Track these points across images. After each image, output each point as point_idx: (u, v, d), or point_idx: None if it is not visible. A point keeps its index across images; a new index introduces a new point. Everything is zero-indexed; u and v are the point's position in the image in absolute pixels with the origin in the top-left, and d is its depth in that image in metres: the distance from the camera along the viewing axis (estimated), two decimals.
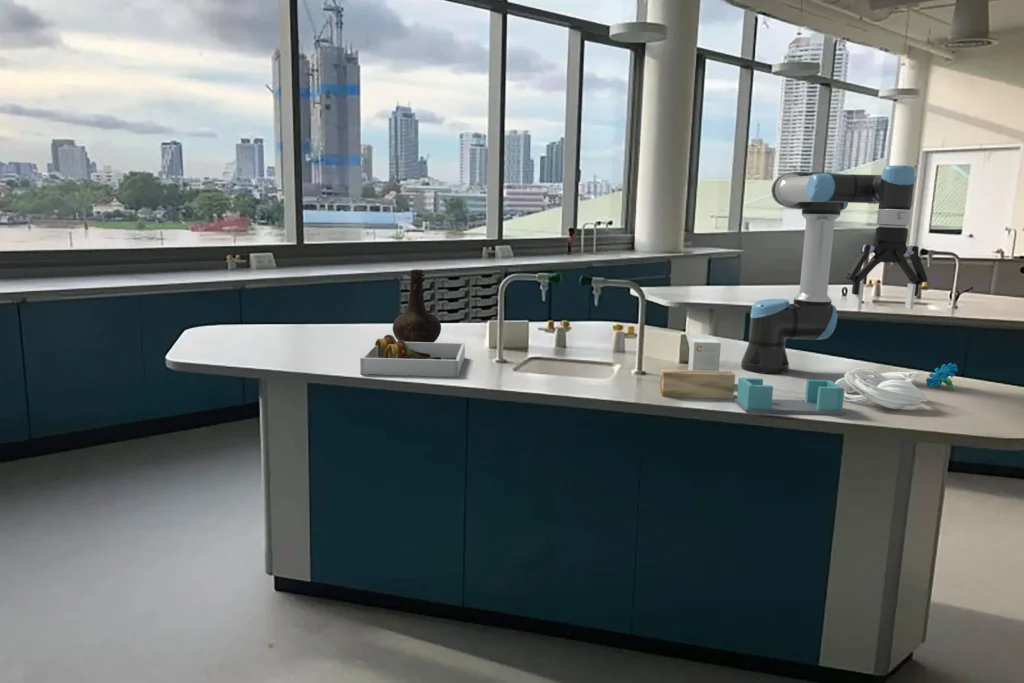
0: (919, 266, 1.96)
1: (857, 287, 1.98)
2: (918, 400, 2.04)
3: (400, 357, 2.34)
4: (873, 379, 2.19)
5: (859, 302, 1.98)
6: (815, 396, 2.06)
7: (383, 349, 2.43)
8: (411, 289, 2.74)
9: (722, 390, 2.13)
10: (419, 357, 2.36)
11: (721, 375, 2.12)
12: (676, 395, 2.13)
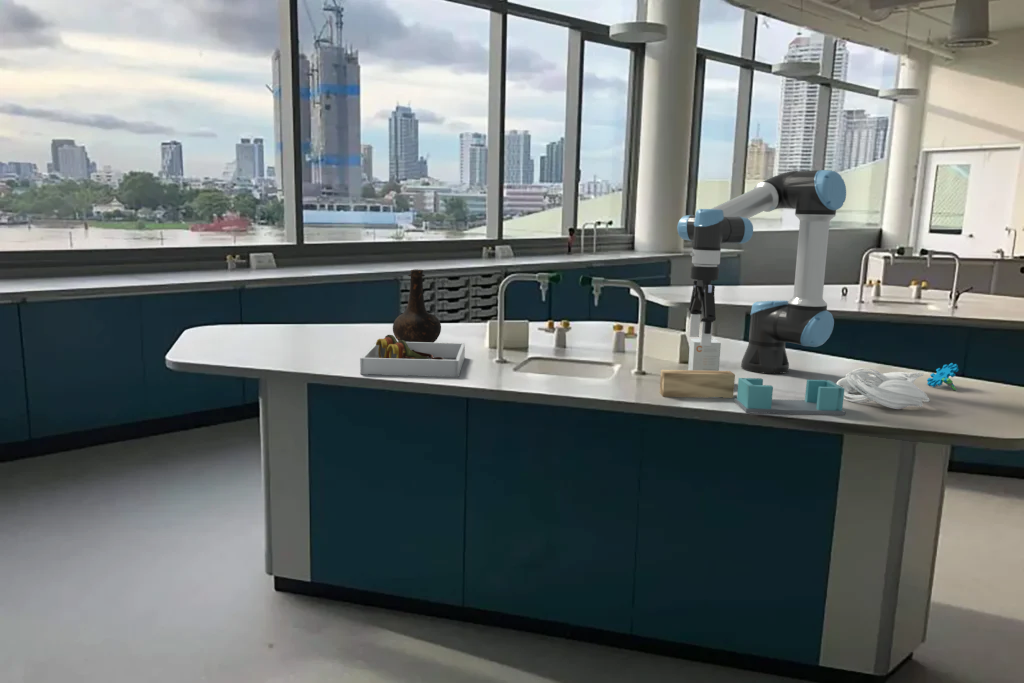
0: (705, 304, 2.03)
1: None
2: (919, 400, 2.04)
3: (401, 357, 2.34)
4: (875, 379, 2.19)
5: (689, 331, 2.19)
6: (815, 396, 2.06)
7: (384, 349, 2.43)
8: (411, 289, 2.74)
9: (722, 390, 2.13)
10: (420, 357, 2.36)
11: (721, 375, 2.12)
12: (676, 395, 2.13)
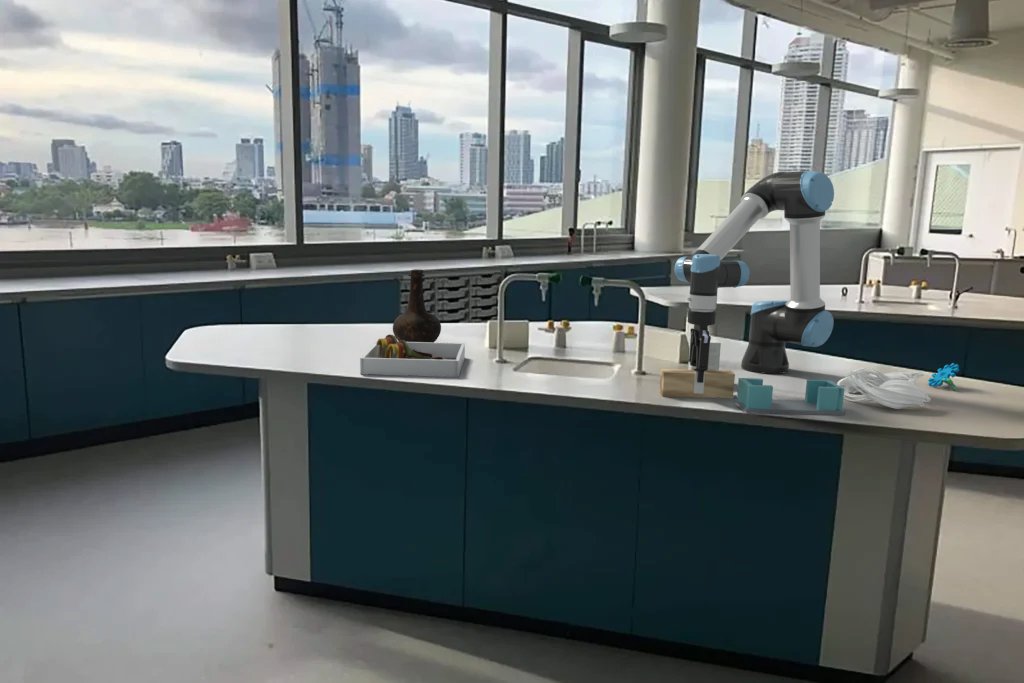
0: (699, 354, 2.08)
1: None
2: (920, 400, 2.04)
3: (401, 357, 2.34)
4: (876, 379, 2.19)
5: None
6: (815, 396, 2.06)
7: (384, 349, 2.43)
8: (411, 289, 2.74)
9: (722, 389, 2.13)
10: (420, 357, 2.36)
11: (721, 374, 2.12)
12: (676, 394, 2.13)
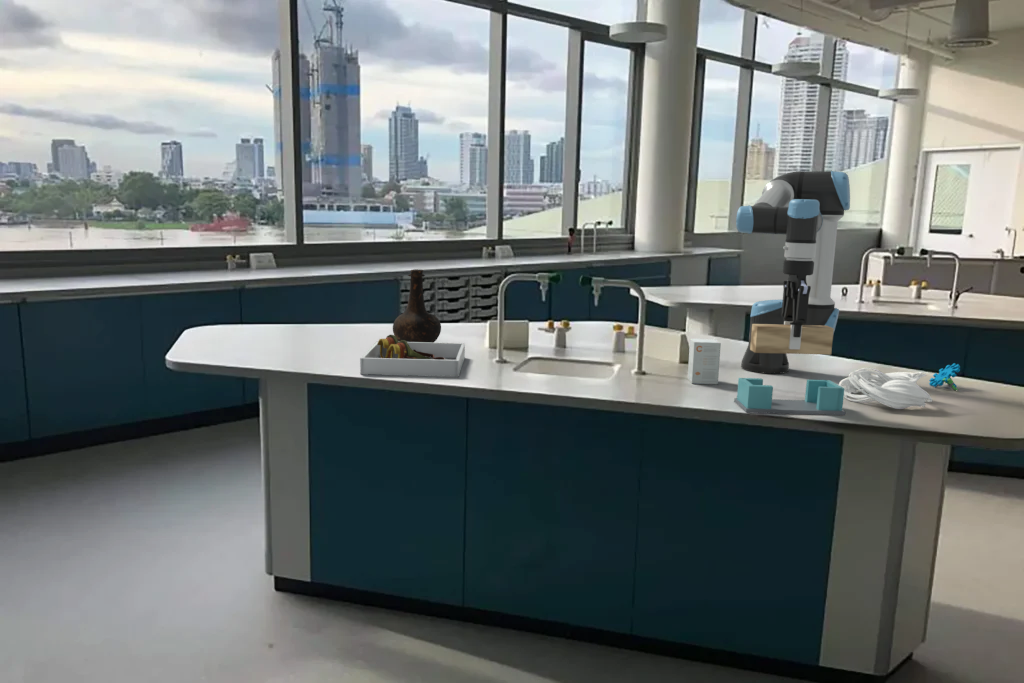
0: (797, 306, 1.94)
1: None
2: (922, 400, 2.04)
3: (402, 357, 2.34)
4: (878, 379, 2.19)
5: None
6: (815, 396, 2.06)
7: (385, 349, 2.43)
8: (411, 289, 2.74)
9: (819, 345, 1.99)
10: (421, 357, 2.36)
11: (819, 329, 1.98)
12: (770, 350, 1.99)
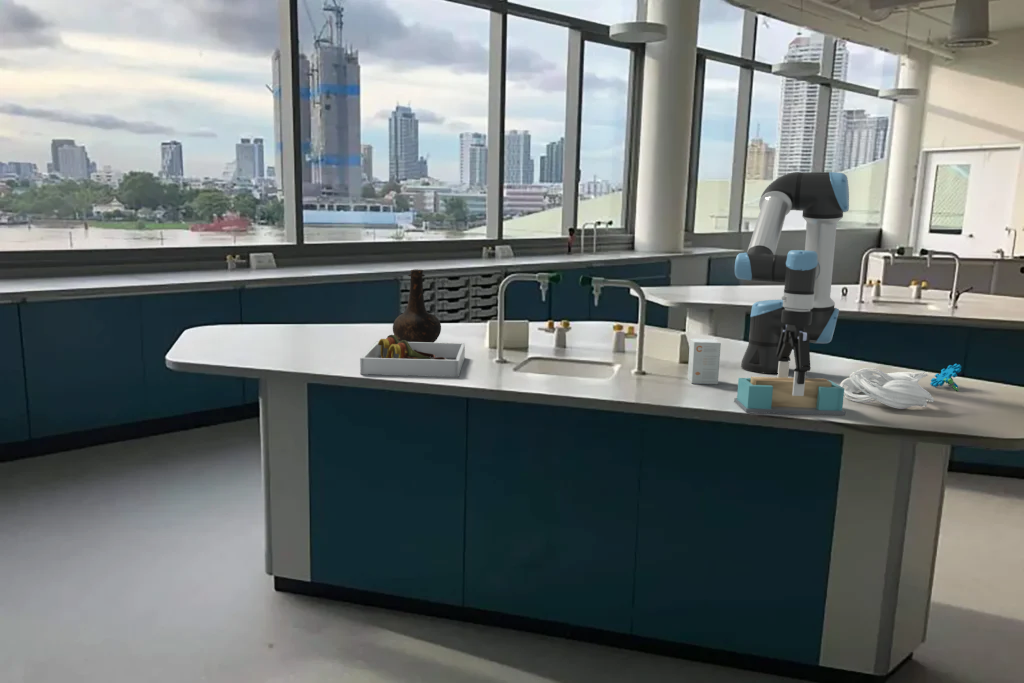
0: (799, 353, 1.94)
1: None
2: (923, 400, 2.04)
3: (403, 357, 2.34)
4: (879, 379, 2.20)
5: None
6: None
7: (386, 349, 2.43)
8: (411, 289, 2.74)
9: None
10: (422, 357, 2.36)
11: (817, 383, 2.00)
12: None
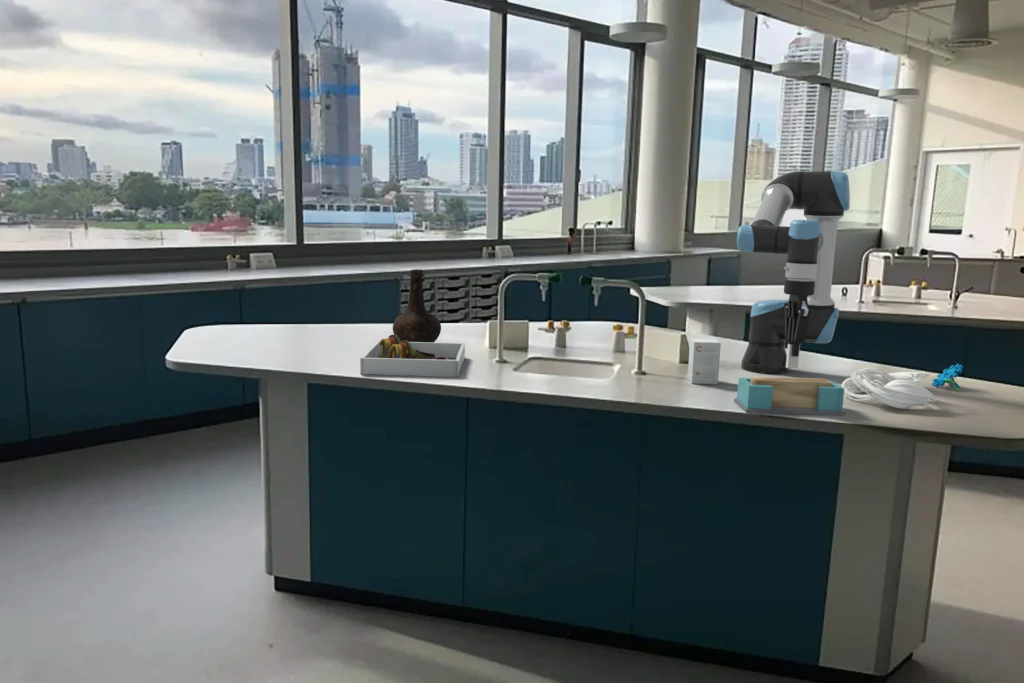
0: (796, 326, 1.96)
1: None
2: (925, 400, 2.04)
3: (404, 357, 2.34)
4: (881, 379, 2.20)
5: (786, 362, 2.02)
6: None
7: (387, 349, 2.43)
8: (411, 289, 2.74)
9: None
10: (423, 357, 2.36)
11: (817, 383, 2.00)
12: None
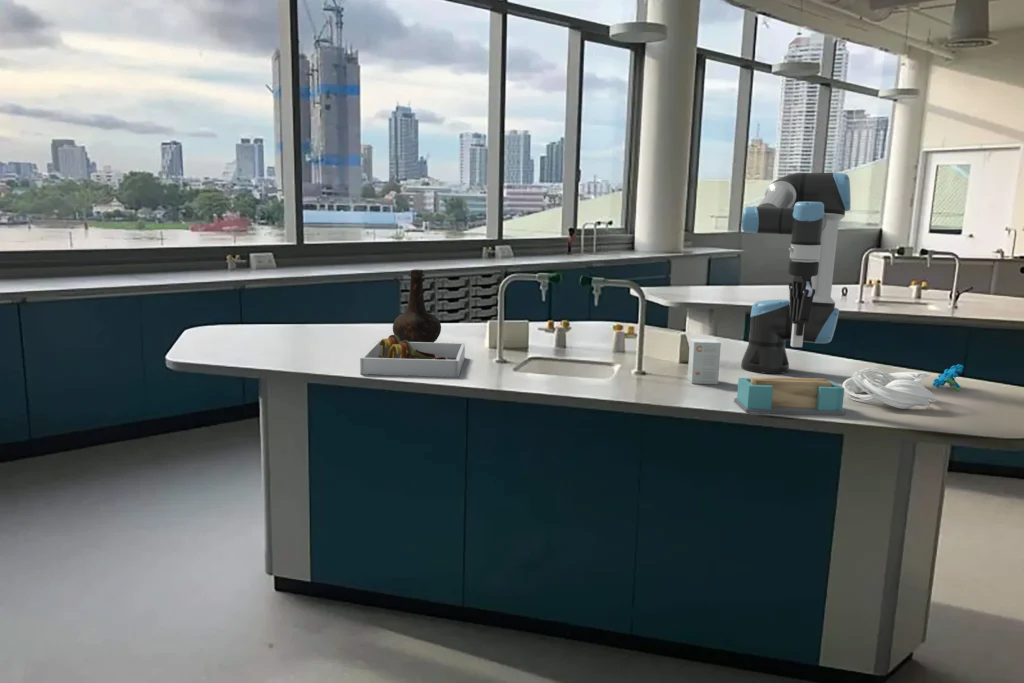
0: (800, 306, 2.00)
1: None
2: (926, 400, 2.04)
3: (404, 357, 2.34)
4: (882, 379, 2.20)
5: (791, 341, 2.07)
6: None
7: (387, 349, 2.43)
8: (411, 289, 2.74)
9: None
10: (423, 357, 2.36)
11: (817, 383, 2.00)
12: None
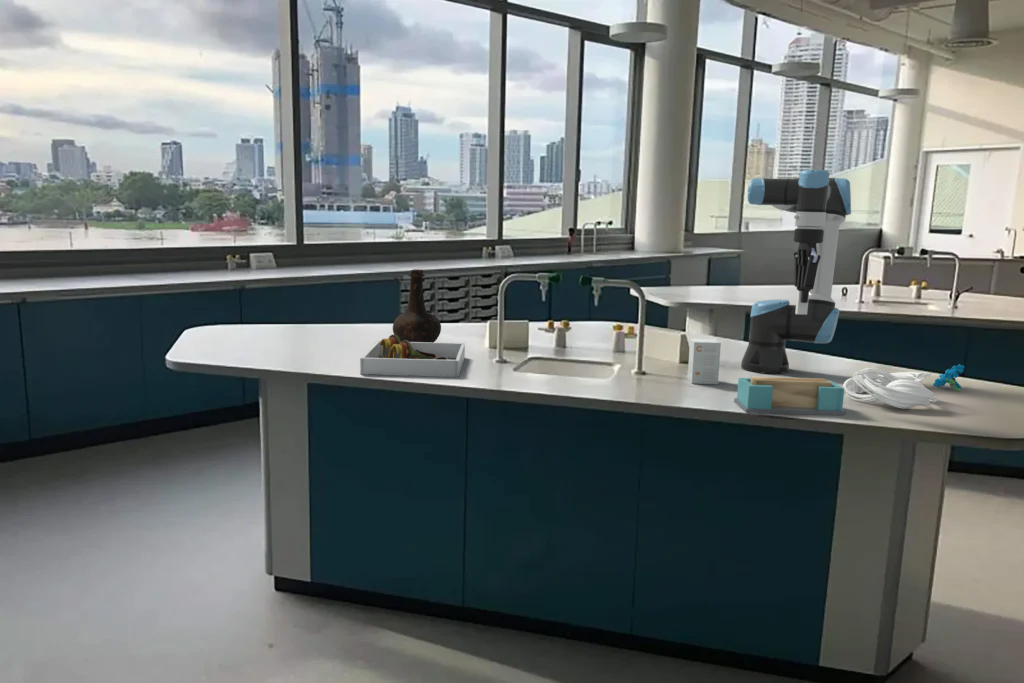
0: (806, 273, 2.03)
1: None
2: (927, 400, 2.04)
3: (404, 357, 2.34)
4: (883, 379, 2.20)
5: (796, 308, 2.09)
6: None
7: (388, 349, 2.43)
8: (411, 289, 2.74)
9: None
10: (423, 357, 2.36)
11: (817, 383, 2.00)
12: None
